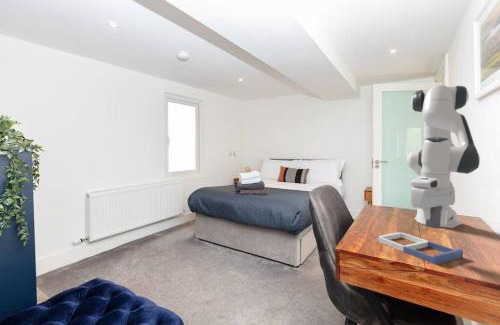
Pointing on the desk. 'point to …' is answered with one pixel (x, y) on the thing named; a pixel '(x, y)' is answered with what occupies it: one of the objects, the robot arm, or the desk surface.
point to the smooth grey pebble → (434, 217)
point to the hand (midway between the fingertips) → (433, 218)
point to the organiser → (421, 243)
